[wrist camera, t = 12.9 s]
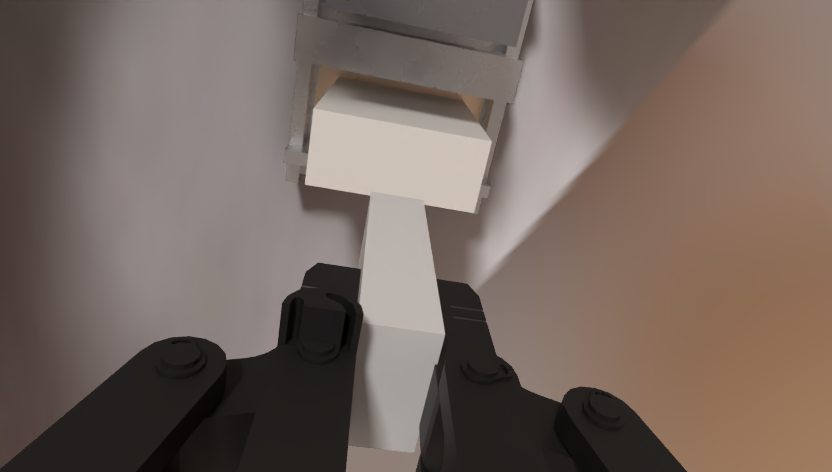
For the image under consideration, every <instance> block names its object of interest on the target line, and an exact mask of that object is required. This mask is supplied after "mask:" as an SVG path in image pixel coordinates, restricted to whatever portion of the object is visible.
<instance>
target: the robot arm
mask: <svg viewBox="0 0 832 472" xmlns="http://www.w3.org/2000/svg"><path fill="white" fill-rule="evenodd" d="M482 311H483V308H482V305H481V302H480V298H479V296H478V295H477V294H476V293H475V292H474V291H473V289H472V288H471V287H470V286H469V285H468V284H465V283H458V282H452V281H445V280H439V279H436V275H435V269H434V262H433V256H432V250H431V244H430V238H429V232H428V225H427V219H426V213H425V207H424V201H423V200H419V199H413V198H408V197H402V196H396V195H390V194H384V193H378V192H372V191H371V194H370V200H369V206H368V212H367V218H366V224H365V229H364V235H363V241H362V247H361V253H360V259H359V264H358V269H357V268H350V267H343V266H337V265H330V264H324V263H317V264H316V265H314V266H313V267H312V268H310V269H309V270H308V271H306V273H305V276H304V279H303V283H302V287H301V289H300V290H298V291H296V292H294V293H292V294H290V295H288V296H287V297H286V299H285V300H284V301H283V303H282V310H281V319H280V328H279V337H278V345H277V347H276V348H275V349H273V350H271V351H269V352H268V353H265V354H262V355H259V356H255V357H249V358H242V359H230V360H226V354H225V352H224V351H223V350H222V349H221V348H220V347H219V346H218V345H217V344H215V343H213V342H211V341H209V340H206V339H203V338H196V337H190V336H187V337H172V338H168V339H165V340H161V341H158V342H155V343H153V344H151V345H150V346H148V347H146V348H145V349H143V350H141V351H140V352H139V353H138V354H136V355H135V356H134V357H133V358H132V359H131V360H129V361H128V362H127V363H126V364H125V365H123V366H122V367H121V368H120V369H119V370H117V371H116V372H115V373H114V374H113V375H111V376H110V377H109V378H108V379H107V380H106V381H104V382H103V383H102V384H101V385H100V386H98V387H97V388H96V389H95V390H94V391H92V392H91V393H90V394H89V395H88V396H87V397H85V398H84V399H83V400H82V401H81V402H79V403H78V404H77V405H76V406H75V407H73V408H72V409H71V410H70V411H69V412H67V413H66V414H65V415H64V416H63V417H62V418H60V419H59V420H58V421H57V422H56V423H54V424H53V425H52V426H51V427H50V428H48V429H47V430H46V431H45V432H44V433H43V434H41V435H40V436H39V437H38V438H37V439H35V440H34V441H33V442H32V443H31V444H29V445H28V446H27V447H26V448H25V449H23V450H22V451H21V452H20V453H19V454H18V455H16V456H15V457H14V458H13V459H12V460H10V461H9V462H8V463H7V464H6V465H4V466H3V467H2V468H1V469H0V472H346V462H347V451H348V445H349V446H357V447H367V448H376V449H385V450H393V451H402V452H411V453H414V452H415V448H416V445H417V441H418V437H419V433H420V447H421V454H420V457H419V461H418V465H417V469H416V472H687V471H686V470H685V469H684V468H683V467H682V465H681V464H680V463H679V462H678V461H677V460H676V458H675V457H674V456H673V455H672V454H671V453H670V452H669V450H668V449H667V448H666V447H665V446H664V445H663V444H662V442H661V441H660V440H659V439H658V438H657V437H656V435H655V434H654V433H653V432H652V431H651V430H650V429H649V427H648V426H647V425H646V424H645V423H644V422H643V421H642V420H641V418H640V417H639V416H638V415H637V414H636V413H635V412H634V411H633V410H632V409H631V408H630V407H629V406H628V405H627V404H625V402H623V401H622V400H620V399H618V398H617V397H615V396H613V395H612V394H610V393H608V392H605V391H602V390H599V389H596V388H589V387H578V388H573V389H570V390H569V391H568V392H567V394H565V395H564V398H563V400H562V403H560V402H557V401H554V400H552V399H548V398H546V397H543V396H540V395H538V394H535V393H533V392H530V391H528V390H526V389H524V388H522V387H521V385H520V382H519V379H518V376H517V374H516V373H515V371H514V369H513V368H512V366H510V365H509V364H508V363H507V362H506V361H504V360H503V359H502V358H500V357H498V356H497V355H496V352H495V349H494V346H493V342H492V339H491V336H490V332H489V329H488V325H487V323H486V318H485V315H484V312H482Z"/></svg>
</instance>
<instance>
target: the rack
mask: <svg viewBox="0 0 832 472" xmlns="http://www.w3.org/2000/svg"><path fill="white" fill-rule="evenodd" d="M532 4H533V0H304V4H303V14H298V19H297V29H296V39H295V49H294V59H293V60H294V61H298V63H297V72H296V82H295V92H294V101H293V111H292V121H291V130H290V140H289V144H288V146H287V147H286V148H285V149H284V158H283V163H287V169H286V179H285V181H288V182H294V183H298V182H299V180H300V179H301V177H302V175H303V174H306V169H307V161H308V152H309V143H310V134H311V125H312V116H313V108H314V107H315V106H316V105H317V103H318V102H319V101H320V100H321V99H322V97H323V96H324V95H325V94H326V92H327V91H328V90H329V89H330V88H331V86H332V85H333V84H334V83H335V81H336V80H337V79H338V78H339V77H340V78H346V79H351V80H356V81H361V82H366V83H372V84H377V85H382V86H387V87H392V88H398V89H403V90H408V91H413V92H419V93H424V94H429V95H434V96H439V97H445V98H450V99H455V100H460V101H464V102H465V104H466V105H467V107H468V108H469V110H470V111H471V112H472V114H473V115H474V117H475V118H476V119H477V121H478V122H479V124H480V125H481V127H482V128H483V129H484V131H485V132H486V134H487V135H488V136H489V138H490V139H491V141H492V144H491V148H490V152H489V156H488V160H487V164H486V168H485V171H484V175H483V179H482V183H481V187H480V191H479V195H478V199H477V203H476V207H475V211H474V213H473V214H478V212H479V208H480V204H481V200H482V198H486V199H488V195H489V192H490V188H491V186H490V184H489V182H488V180H487V177H488V173H489V170H490V166H491V162H492V158H493V154H494V150H495V146H496V143H497V139H498V135H499V131H500V127H501V123H502V119H503V116H504V112H505V108H506V104H507V103H511V104H513V101H514V97H515V93H516V89H517V85H518V82H519V78H520V74H521V70H522V67H523V63H524V61H523V60H520V59H518V58H519V54H520V50H521V46H522V42H523V39H524V35H525V31H526V27H527V23H528V19H529V15H530V12H531V8H532ZM467 213H470V212H467Z"/></svg>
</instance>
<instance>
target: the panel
mask: <svg viewBox="0 0 832 472" xmlns="http://www.w3.org/2000/svg"><path fill="white" fill-rule="evenodd" d="M491 144H492V141H491V139H490V138H489V136H488V135H487V134H486V132H485V131H484V129H483V128H482V127H481V125H480V124H479V122H478V121H477V119H476V118H475V117H474V115H473V114H472V112H471V111H470V110H469V108H468V107H467V105H466V104H465V102H464V101H460V100H455V99H450V98H445V97H439V96H434V95H429V94H424V93H419V92H413V91H408V90H403V89H398V88H392V87H387V86H382V85H377V84H372V83H366V82H361V81H356V80H351V79H346V78H340V77H339V78H338V79H337V80H336V81H335V83H334V84H333V85H332V86H331V88H330V89H329V90H328V91H327V92H326V94H325V95H324V96H323V97H322V99H321V100H320V101H319V102H318V103H317V105H316V106H315V107H314V108H313V116H312V125H311V134H310V143H309V152H308V161H307V169H306V178H305V185H310V186H316V187H322V188H328V189H334V190H340V191H346V192H352V193H358V194H363V195H369V196H370V194H371V191H372V192H378V193H384V194H390V195H396V196H402V197H408V198H413V199H419V200H423V201H424V205H429V206H434V207H440V208H446V209H452V210H458V211H464V212H470V213H474V211H475V207H476V203H477V199H478V195H479V191H480V187H481V183H482V179H483V175H484V171H485V168H486V164H487V160H488V156H489V152H490V148H491Z"/></svg>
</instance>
